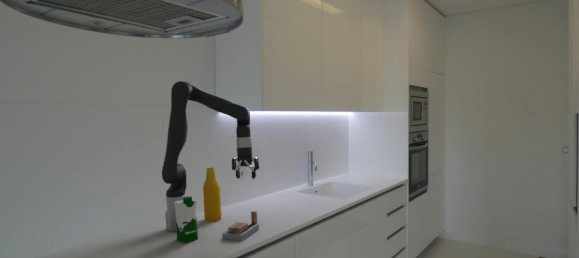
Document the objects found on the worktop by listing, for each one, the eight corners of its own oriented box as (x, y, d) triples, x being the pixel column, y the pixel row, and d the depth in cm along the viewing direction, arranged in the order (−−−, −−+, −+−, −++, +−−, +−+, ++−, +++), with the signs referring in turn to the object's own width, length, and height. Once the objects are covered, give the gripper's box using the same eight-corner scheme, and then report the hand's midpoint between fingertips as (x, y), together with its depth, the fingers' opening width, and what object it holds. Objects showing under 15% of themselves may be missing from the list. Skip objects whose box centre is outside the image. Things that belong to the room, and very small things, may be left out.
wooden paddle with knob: (228, 238, 166) (227, 223, 165) (250, 223, 187) (250, 210, 187) (240, 239, 164) (239, 224, 163) (261, 224, 185) (260, 211, 185)
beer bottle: (212, 216, 203) (210, 165, 202) (225, 218, 198) (222, 166, 197) (200, 221, 195) (198, 168, 194) (213, 222, 190) (211, 168, 189)
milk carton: (183, 244, 159) (181, 200, 159) (173, 239, 166) (171, 197, 165) (200, 239, 166) (198, 196, 165) (191, 234, 172) (188, 193, 171)
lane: (222, 238, 165) (222, 233, 165) (240, 227, 181) (240, 222, 181) (242, 240, 161) (242, 235, 161) (258, 228, 177) (258, 223, 177)
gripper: (227, 147, 178) (229, 179, 178) (253, 146, 172) (255, 180, 173) (235, 145, 185) (237, 177, 185) (260, 145, 179) (262, 177, 180)
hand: (246, 178), depth 179 cm, fingers open, 8 cm apart
